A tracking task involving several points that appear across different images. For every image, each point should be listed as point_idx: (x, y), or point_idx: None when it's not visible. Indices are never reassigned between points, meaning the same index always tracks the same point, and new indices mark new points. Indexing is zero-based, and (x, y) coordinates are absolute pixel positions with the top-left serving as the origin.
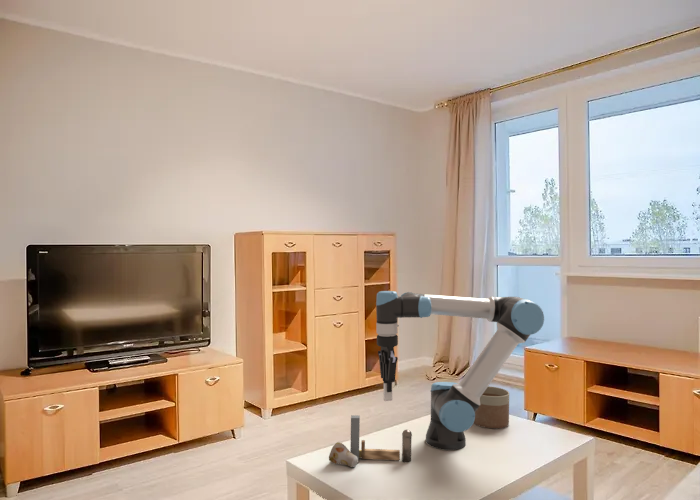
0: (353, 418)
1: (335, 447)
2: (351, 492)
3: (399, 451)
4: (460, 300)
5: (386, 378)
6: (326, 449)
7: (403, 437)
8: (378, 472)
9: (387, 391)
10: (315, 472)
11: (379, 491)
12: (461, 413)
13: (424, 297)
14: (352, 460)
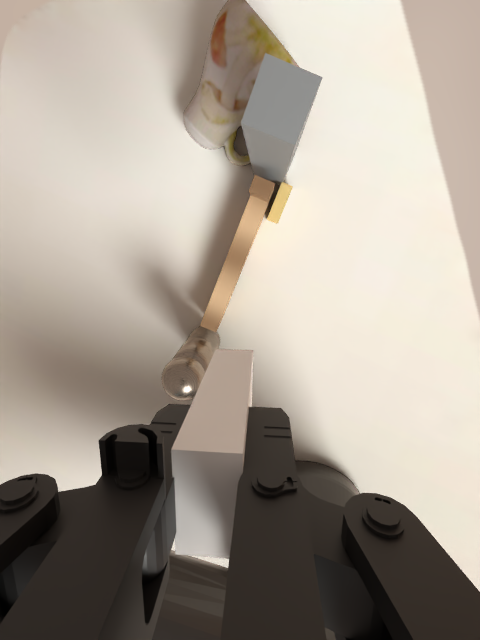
0: (258, 77)
1: (230, 10)
2: (15, 55)
3: (202, 325)
4: None
5: (77, 527)
6: (412, 65)
7: (180, 356)
8: (142, 210)
9: (182, 407)
10: None
11: (11, 160)
12: None
13: None
14: (184, 111)
